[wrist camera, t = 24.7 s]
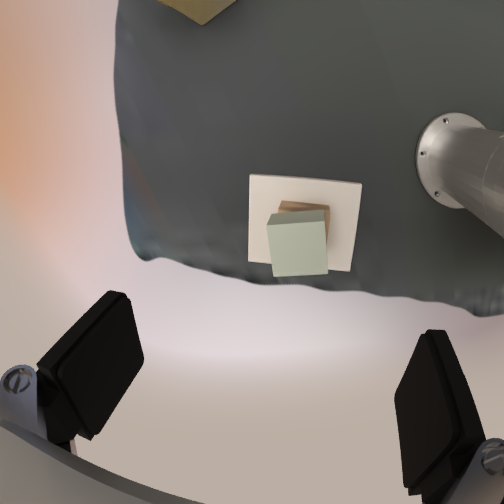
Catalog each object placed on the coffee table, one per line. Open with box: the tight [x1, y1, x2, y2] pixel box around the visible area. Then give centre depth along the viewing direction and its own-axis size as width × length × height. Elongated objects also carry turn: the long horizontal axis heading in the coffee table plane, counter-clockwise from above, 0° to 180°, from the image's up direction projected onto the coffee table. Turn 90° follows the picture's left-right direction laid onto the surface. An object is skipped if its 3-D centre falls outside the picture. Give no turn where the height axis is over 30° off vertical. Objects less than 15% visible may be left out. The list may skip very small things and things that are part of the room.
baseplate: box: [248, 174, 362, 272], centre depth 41 cm, size 14×12×1 cm
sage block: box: [266, 210, 328, 277], centre depth 35 cm, size 6×6×4 cm
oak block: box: [278, 200, 330, 244], centre depth 38 cm, size 6×6×4 cm
